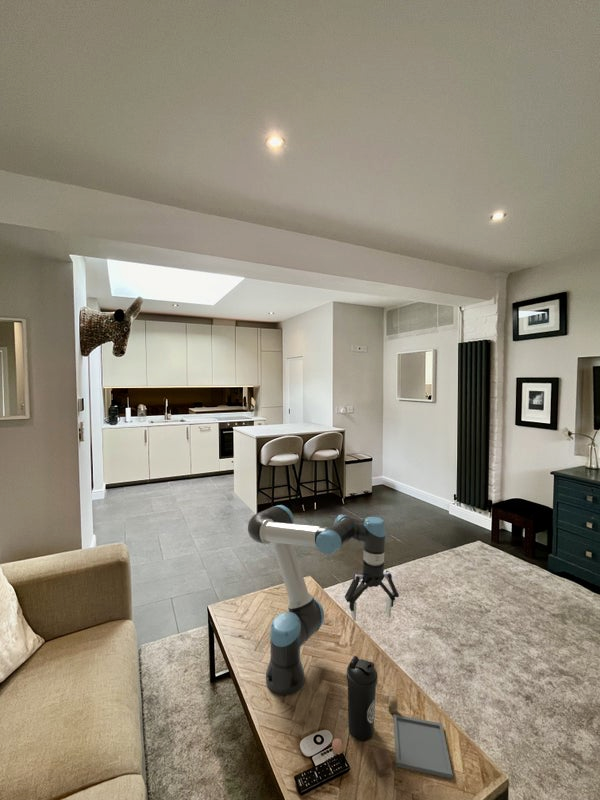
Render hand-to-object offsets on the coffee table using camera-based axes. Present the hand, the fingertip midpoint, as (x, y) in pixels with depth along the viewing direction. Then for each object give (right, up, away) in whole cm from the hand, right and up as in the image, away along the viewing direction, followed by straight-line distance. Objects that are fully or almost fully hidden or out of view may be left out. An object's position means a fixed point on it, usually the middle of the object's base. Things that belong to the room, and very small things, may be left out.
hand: (371, 616), depth 129 cm
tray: (+13, -32, -16) cm, 38 cm away
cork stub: (+7, -31, -4) cm, 32 cm away
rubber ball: (-14, -31, -18) cm, 39 cm away
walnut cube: (-1, -32, -23) cm, 39 cm away
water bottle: (-6, -31, -11) cm, 34 cm away
